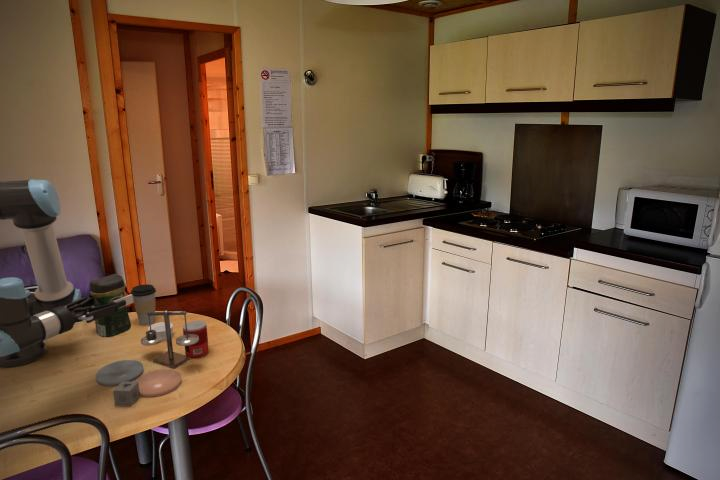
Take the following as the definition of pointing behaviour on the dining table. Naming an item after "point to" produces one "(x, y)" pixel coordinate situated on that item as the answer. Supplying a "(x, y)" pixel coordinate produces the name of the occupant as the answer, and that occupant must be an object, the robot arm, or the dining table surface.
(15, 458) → the dining table surface
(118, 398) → the dice cube
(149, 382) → the terracotta dish
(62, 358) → the dining table surface
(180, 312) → the balance
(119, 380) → the slate dish
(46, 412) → the dining table surface
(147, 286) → the coffee cup
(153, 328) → the ramekin
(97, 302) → the coffee jar
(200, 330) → the canned food
